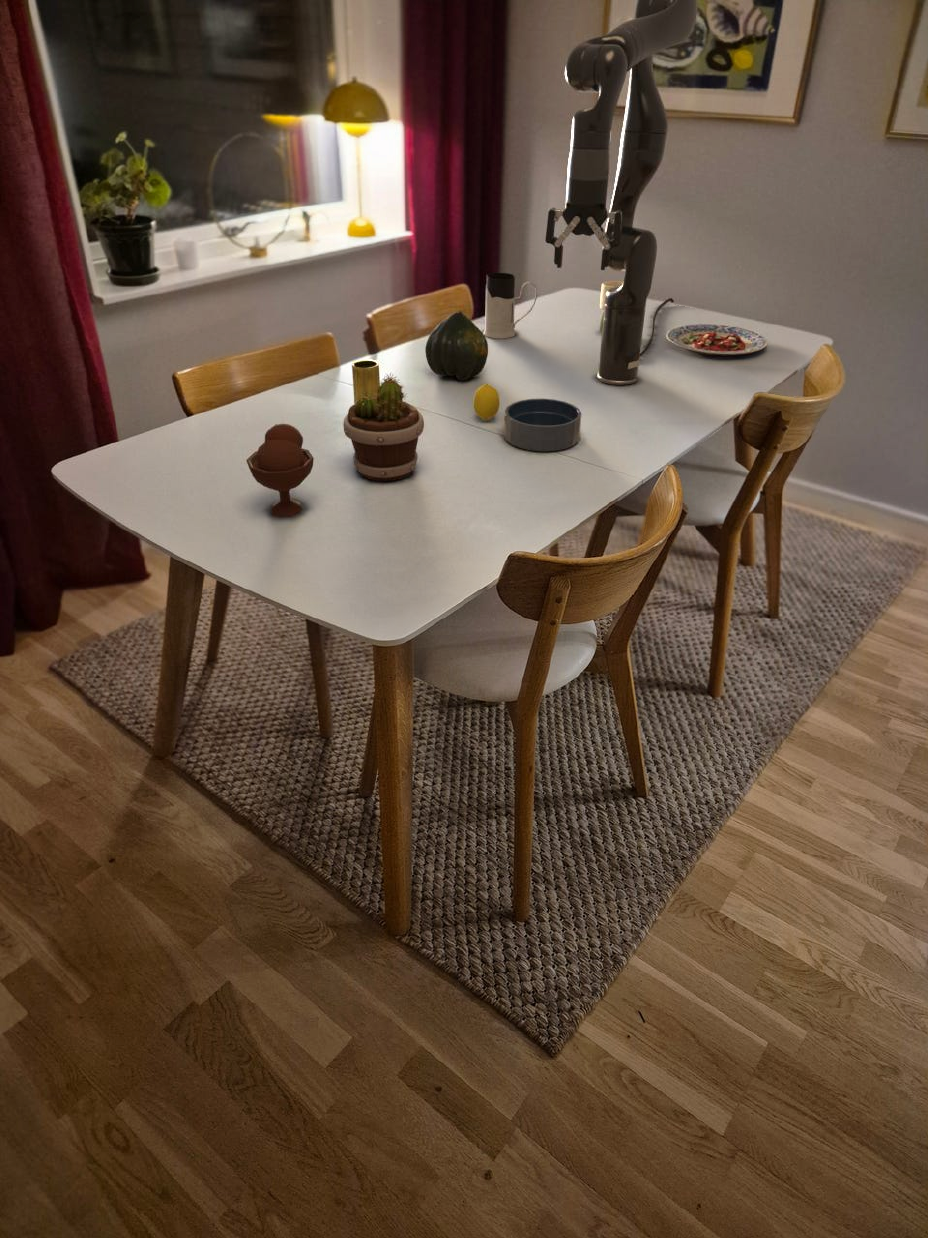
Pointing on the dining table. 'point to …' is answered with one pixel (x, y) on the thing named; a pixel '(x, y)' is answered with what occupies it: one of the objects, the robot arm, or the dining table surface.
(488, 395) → the lemon
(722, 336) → the ceramic plate
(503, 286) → the glass holder
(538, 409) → the bowl
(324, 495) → the dining table surface
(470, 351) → the squash
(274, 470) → the ice cream bowl
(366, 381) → the vase
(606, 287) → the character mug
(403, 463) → the flowerpot
